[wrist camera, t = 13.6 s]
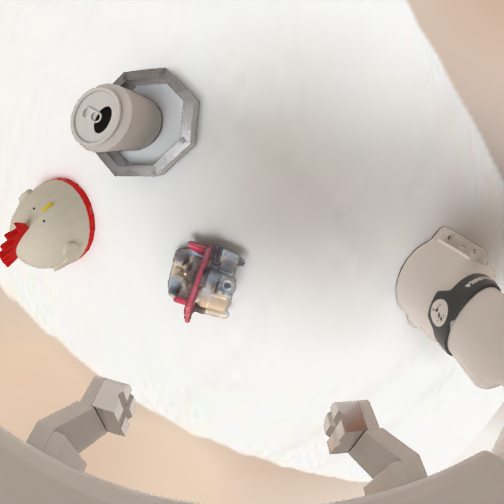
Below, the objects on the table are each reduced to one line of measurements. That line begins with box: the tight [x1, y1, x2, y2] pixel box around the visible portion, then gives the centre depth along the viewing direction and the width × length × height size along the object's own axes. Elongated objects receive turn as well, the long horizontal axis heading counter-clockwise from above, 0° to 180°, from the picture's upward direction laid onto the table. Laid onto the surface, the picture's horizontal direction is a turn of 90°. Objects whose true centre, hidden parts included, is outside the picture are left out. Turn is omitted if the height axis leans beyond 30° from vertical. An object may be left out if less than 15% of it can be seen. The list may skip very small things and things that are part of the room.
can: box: [71, 84, 162, 152], centre depth 26 cm, size 8×8×12 cm
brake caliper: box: [168, 241, 245, 323], centre depth 36 cm, size 11×11×12 cm
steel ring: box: [96, 68, 200, 176], centre depth 30 cm, size 14×14×4 cm
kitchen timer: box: [0, 178, 95, 271], centre depth 29 cm, size 14×14×15 cm
